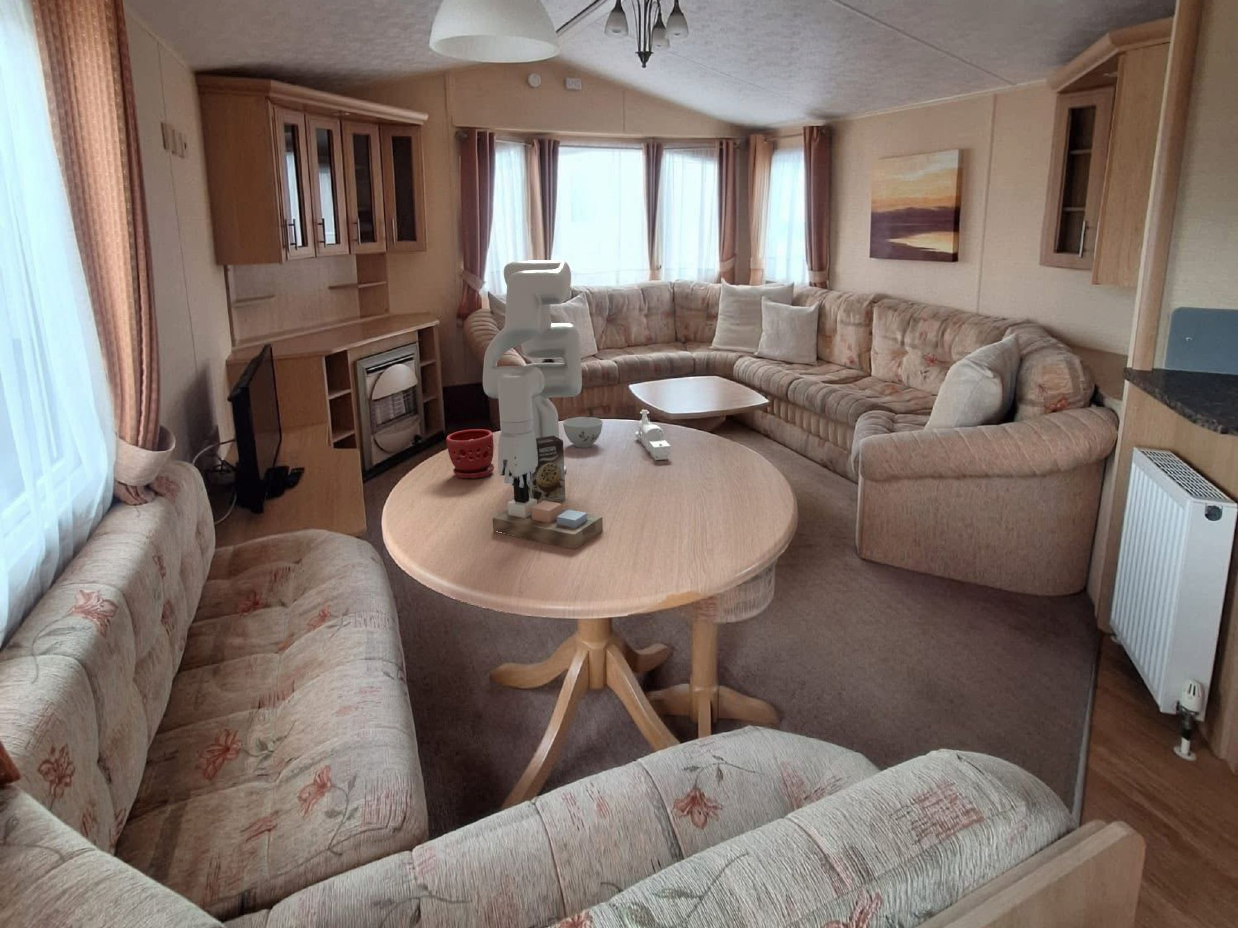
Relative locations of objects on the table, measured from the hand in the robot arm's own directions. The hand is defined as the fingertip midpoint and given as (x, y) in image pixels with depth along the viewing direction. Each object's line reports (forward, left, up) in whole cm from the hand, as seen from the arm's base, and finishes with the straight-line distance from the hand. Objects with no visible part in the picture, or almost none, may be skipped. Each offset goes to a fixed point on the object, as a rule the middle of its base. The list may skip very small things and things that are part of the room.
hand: (521, 501), depth 193 cm
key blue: (+14, 0, -5) cm, 15 cm away
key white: (0, 0, -4) cm, 4 cm away
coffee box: (-6, +18, -7) cm, 20 cm away
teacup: (-24, +65, -7) cm, 70 cm away
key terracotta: (+7, 0, -4) cm, 8 cm away
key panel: (+7, 0, -7) cm, 9 cm away
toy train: (-3, +71, -7) cm, 72 cm away
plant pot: (-37, +26, -7) cm, 46 cm away
